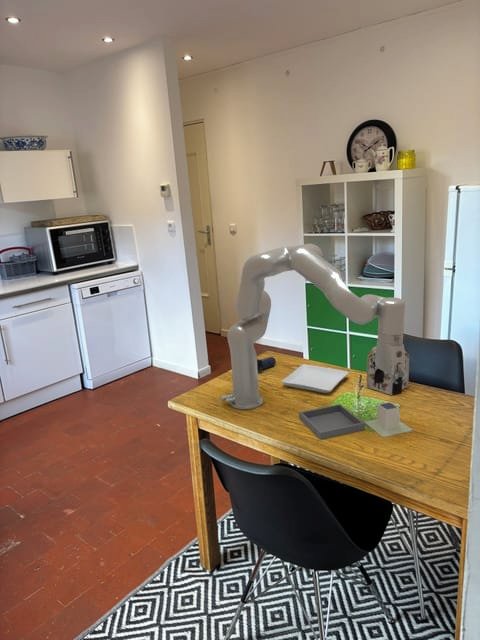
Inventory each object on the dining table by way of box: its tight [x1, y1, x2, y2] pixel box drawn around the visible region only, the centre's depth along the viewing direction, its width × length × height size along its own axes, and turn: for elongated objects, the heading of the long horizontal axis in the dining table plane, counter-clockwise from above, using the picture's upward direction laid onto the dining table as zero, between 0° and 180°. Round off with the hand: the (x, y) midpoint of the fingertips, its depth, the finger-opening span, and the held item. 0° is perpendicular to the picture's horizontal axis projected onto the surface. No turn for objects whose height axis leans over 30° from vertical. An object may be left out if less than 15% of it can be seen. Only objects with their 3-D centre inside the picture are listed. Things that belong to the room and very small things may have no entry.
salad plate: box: [281, 363, 350, 394], centre depth 200 cm, size 21×21×3 cm
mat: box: [363, 418, 414, 438], centre depth 161 cm, size 11×11×1 cm
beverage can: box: [257, 356, 277, 375], centre depth 218 cm, size 9×8×12 cm
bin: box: [298, 403, 366, 441], centre depth 164 cm, size 16×16×3 cm
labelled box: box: [376, 401, 401, 431], centre depth 159 cm, size 5×5×7 cm
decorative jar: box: [366, 346, 410, 396], centre depth 189 cm, size 12×12×18 cm
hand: (387, 388), depth 157 cm, fingers open, 9 cm apart
